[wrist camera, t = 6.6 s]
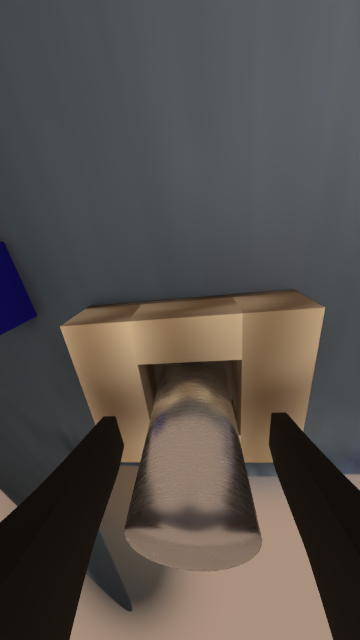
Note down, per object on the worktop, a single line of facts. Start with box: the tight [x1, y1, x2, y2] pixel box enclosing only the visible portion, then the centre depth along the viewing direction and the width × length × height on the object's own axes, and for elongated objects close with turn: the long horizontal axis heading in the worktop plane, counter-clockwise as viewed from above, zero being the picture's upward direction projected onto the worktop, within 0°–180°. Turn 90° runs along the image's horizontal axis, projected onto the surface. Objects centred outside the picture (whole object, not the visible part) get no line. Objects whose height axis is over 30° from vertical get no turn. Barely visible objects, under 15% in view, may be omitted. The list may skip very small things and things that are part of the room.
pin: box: [124, 361, 262, 571], centre depth 10 cm, size 4×4×8 cm
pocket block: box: [60, 290, 325, 462], centre depth 12 cm, size 12×10×3 cm
